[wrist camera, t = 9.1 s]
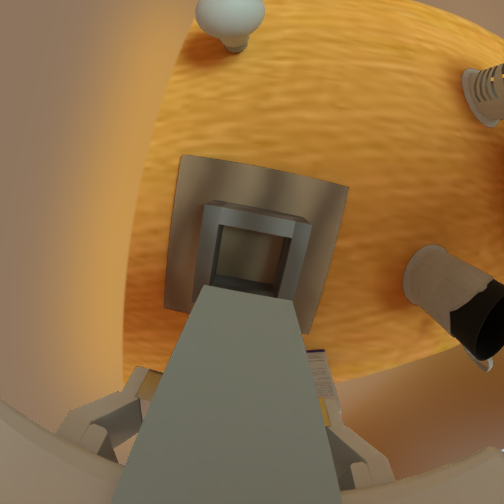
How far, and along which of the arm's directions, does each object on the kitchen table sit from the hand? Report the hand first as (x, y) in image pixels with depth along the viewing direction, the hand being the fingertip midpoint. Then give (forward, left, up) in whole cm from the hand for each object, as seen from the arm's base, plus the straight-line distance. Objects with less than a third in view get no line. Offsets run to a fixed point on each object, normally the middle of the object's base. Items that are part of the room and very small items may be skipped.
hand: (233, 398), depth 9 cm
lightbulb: (+6, -23, -22) cm, 33 cm away
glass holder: (-26, +1, -22) cm, 34 cm away
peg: (0, 0, -5) cm, 5 cm away
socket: (0, 0, -22) cm, 22 cm away
